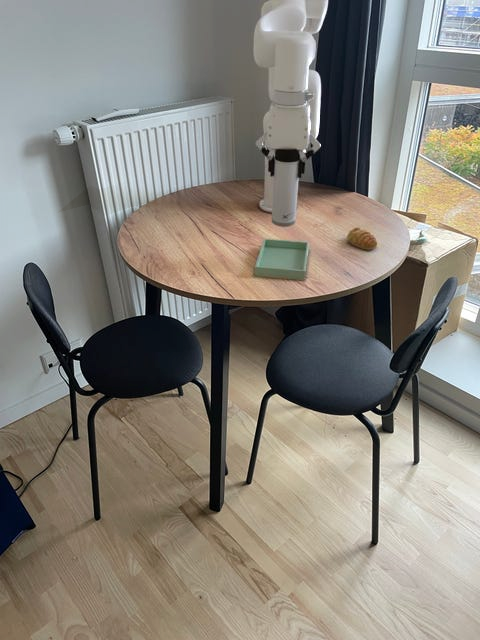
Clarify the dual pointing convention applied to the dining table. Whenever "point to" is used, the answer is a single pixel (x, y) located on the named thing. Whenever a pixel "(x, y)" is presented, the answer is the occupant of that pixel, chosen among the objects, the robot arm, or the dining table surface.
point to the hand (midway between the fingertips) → (286, 175)
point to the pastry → (362, 239)
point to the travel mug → (285, 187)
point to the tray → (282, 259)
